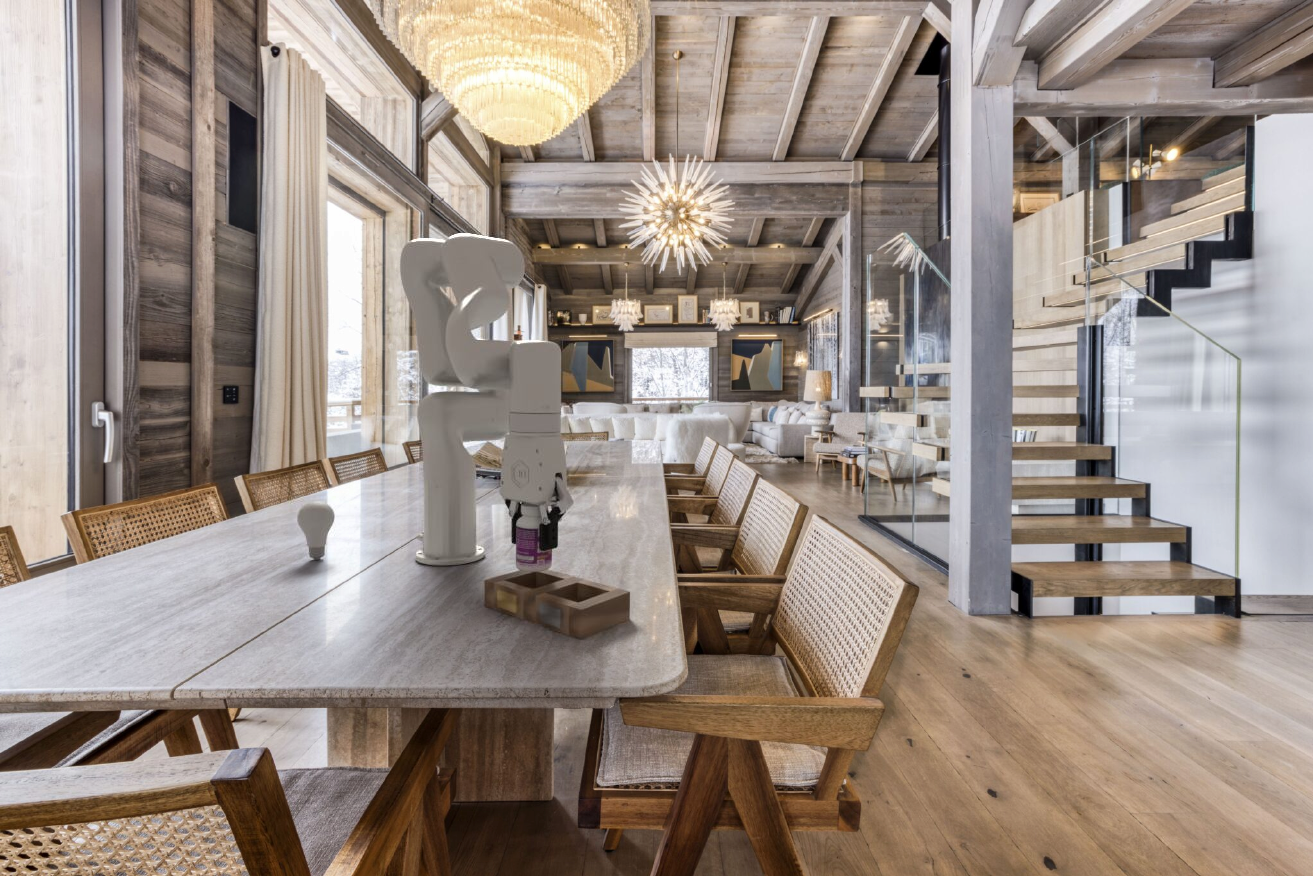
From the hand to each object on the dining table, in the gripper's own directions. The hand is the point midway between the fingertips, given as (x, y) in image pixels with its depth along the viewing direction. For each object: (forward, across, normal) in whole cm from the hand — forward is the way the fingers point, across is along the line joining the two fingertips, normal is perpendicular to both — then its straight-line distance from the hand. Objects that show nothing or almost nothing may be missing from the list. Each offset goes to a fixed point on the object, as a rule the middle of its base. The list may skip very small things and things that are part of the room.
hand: (534, 544), depth 97 cm
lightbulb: (+10, -49, -9) cm, 51 cm away
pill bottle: (+4, 0, 0) cm, 4 cm away
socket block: (+9, +5, 0) cm, 10 cm away
